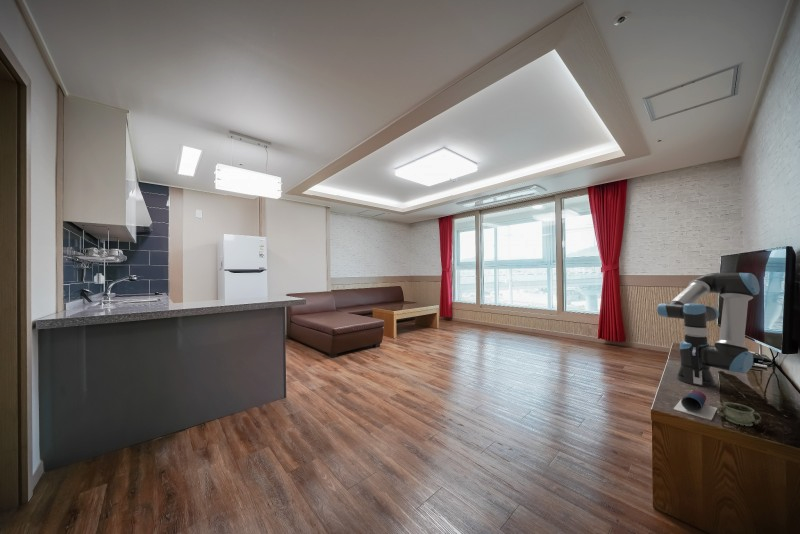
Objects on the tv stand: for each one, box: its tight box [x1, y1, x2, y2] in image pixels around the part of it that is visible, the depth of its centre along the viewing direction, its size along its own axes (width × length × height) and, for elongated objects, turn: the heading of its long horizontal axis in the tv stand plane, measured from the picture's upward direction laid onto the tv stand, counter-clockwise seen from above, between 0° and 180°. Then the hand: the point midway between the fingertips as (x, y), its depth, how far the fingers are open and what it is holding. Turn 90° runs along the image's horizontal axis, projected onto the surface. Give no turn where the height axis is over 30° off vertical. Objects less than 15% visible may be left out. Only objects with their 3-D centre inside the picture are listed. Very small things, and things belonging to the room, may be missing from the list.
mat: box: [673, 398, 718, 421], centre depth 130 cm, size 16×12×1 cm
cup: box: [680, 390, 707, 412], centre depth 131 cm, size 7×7×15 cm
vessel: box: [717, 401, 762, 427], centre depth 119 cm, size 12×9×6 cm
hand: (697, 383), depth 135 cm, fingers closed
